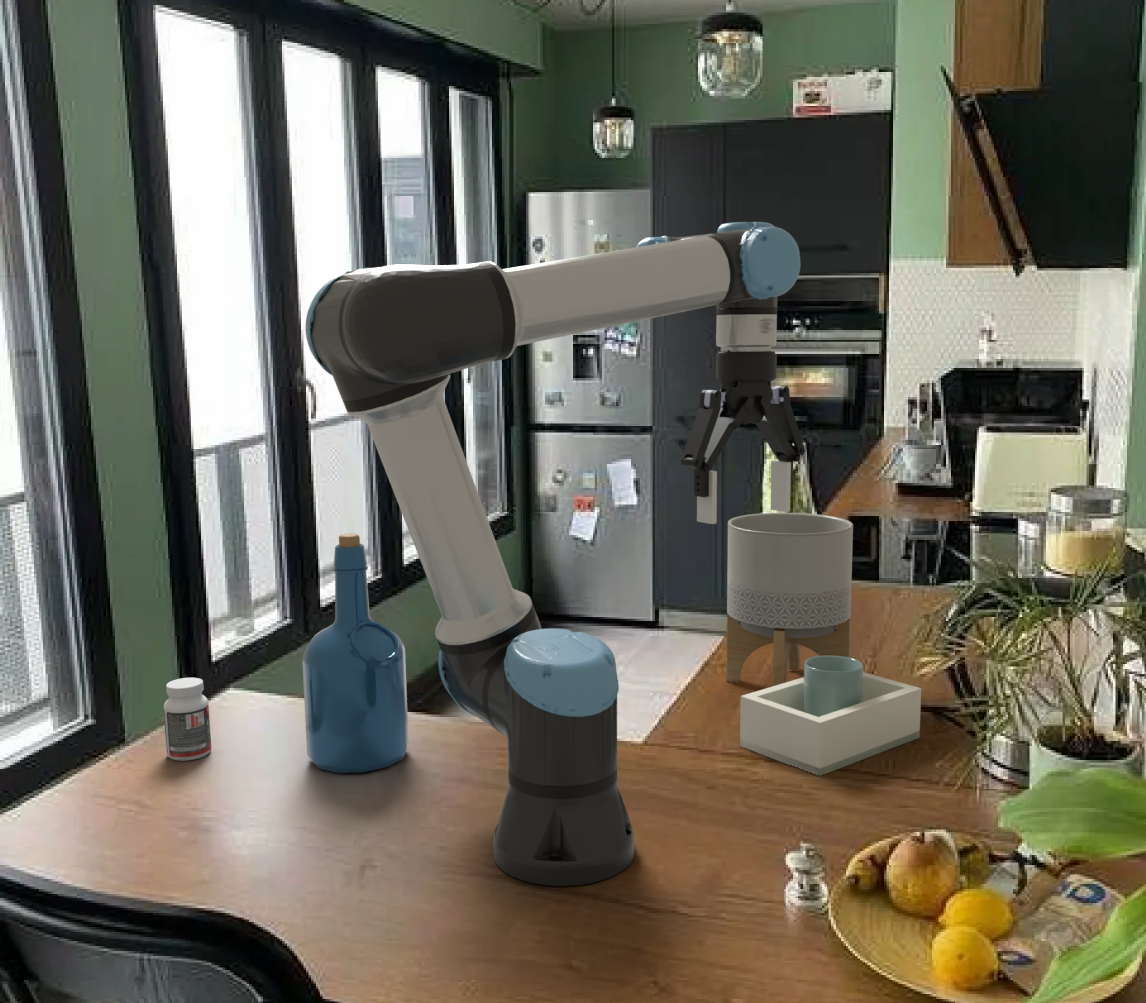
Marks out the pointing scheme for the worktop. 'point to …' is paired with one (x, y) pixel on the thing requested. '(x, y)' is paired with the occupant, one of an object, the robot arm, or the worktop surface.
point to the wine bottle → (354, 678)
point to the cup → (831, 684)
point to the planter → (788, 588)
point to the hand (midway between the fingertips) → (744, 516)
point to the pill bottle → (187, 720)
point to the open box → (829, 724)
